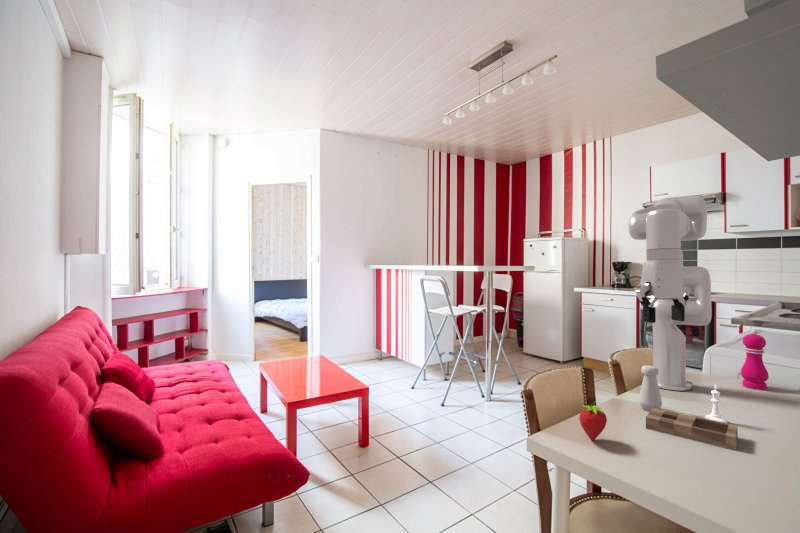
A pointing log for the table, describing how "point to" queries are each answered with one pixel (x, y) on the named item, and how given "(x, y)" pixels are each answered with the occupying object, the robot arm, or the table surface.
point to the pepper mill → (754, 362)
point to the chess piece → (715, 407)
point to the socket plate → (693, 428)
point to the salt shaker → (650, 389)
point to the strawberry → (592, 421)
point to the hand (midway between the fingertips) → (663, 321)
